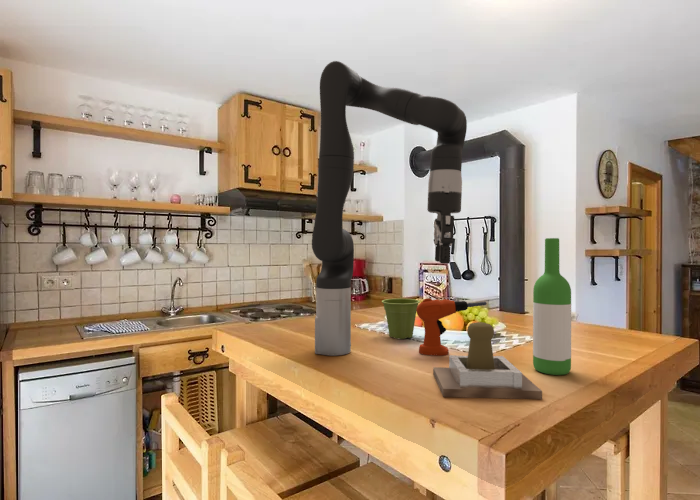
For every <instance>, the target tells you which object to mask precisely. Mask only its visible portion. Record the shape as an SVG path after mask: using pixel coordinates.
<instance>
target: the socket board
mask: <svg viewBox="0 0 700 500" xmlns="http://www.w3.org/2000/svg"><path fill="white" fill-rule="evenodd" d="M432 372H433V377H434V379H435V382H436V384H437V386H438V389H439V391H440V393H441V396H442V397H443V398H477V399H481V398H482V399H515V400H516V399H517V400H518V399H522V400H523V399H524V400H543V390H542V389H541V388H539V387H538V386H537V385H536V384H535V383H533V382H532V381H531V379H529V378H528V377H527V376H526V375H524V374H523V373H522V389H514V388H484V387H468V388H464V387H460V386H459V385H458V383H457V381H456V380H455V378H454V376H453V375H452V373H451V371H450V369H449V367H445V366H444V367H436V366H433V368H432Z"/></svg>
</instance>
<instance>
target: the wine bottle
mask: <svg viewBox="0 0 700 500" xmlns="http://www.w3.org/2000/svg"><path fill="white" fill-rule="evenodd" d="M532 292H533V294H532V295H533V298H532V299H533V300H532V301H533V302H532V307H533V309H532V364H533V367H534V368H533V369H534V370H535V371H537V372H539V373H542V374H545V375H551V376H566V375H568V374H569V373H570V371H571V369H572V288H571V285H570V282H569V281H568V280H567V279H566V278H565V277H564V276H563V275H562V274H561V273H560V238H559V237H549V238H546V237H545V239H544V273H543V274H542V275H540V277H538V278H537V280H536V281H535V282H534V286H533V291H532Z"/></svg>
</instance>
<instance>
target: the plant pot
mask: <svg viewBox="0 0 700 500" xmlns="http://www.w3.org/2000/svg"><path fill="white" fill-rule="evenodd" d="M381 303H382V304H383V308H384V310H385V316H386V317H385V318H386V323H387V329H388V333H389V337H390V338H393V339H397V340H398V339H400V340H404V339H407V338H409V339H411V338H413V336H414V329H415V323H416V315H417V311H416V309H417V306H418V305H419V304H420V303H421V300H419V299H413V298H387V299H383V300H381Z"/></svg>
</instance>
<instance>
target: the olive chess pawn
mask: <svg viewBox="0 0 700 500" xmlns="http://www.w3.org/2000/svg"><path fill="white" fill-rule="evenodd" d="M466 329H467V336H468V338H469V345H468V351H467V352H468V353H467V356H468V358H467V365H466V369H492V370H495V366H494V359H493V356H494V353H493V345H492V339H493V338H494V335H495V328H494V327H493V325H491V324H490V323H487V322H482V321H480V322H479V321H478V322H472V323H470V324H469V325H468V326H467V328H466Z"/></svg>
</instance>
